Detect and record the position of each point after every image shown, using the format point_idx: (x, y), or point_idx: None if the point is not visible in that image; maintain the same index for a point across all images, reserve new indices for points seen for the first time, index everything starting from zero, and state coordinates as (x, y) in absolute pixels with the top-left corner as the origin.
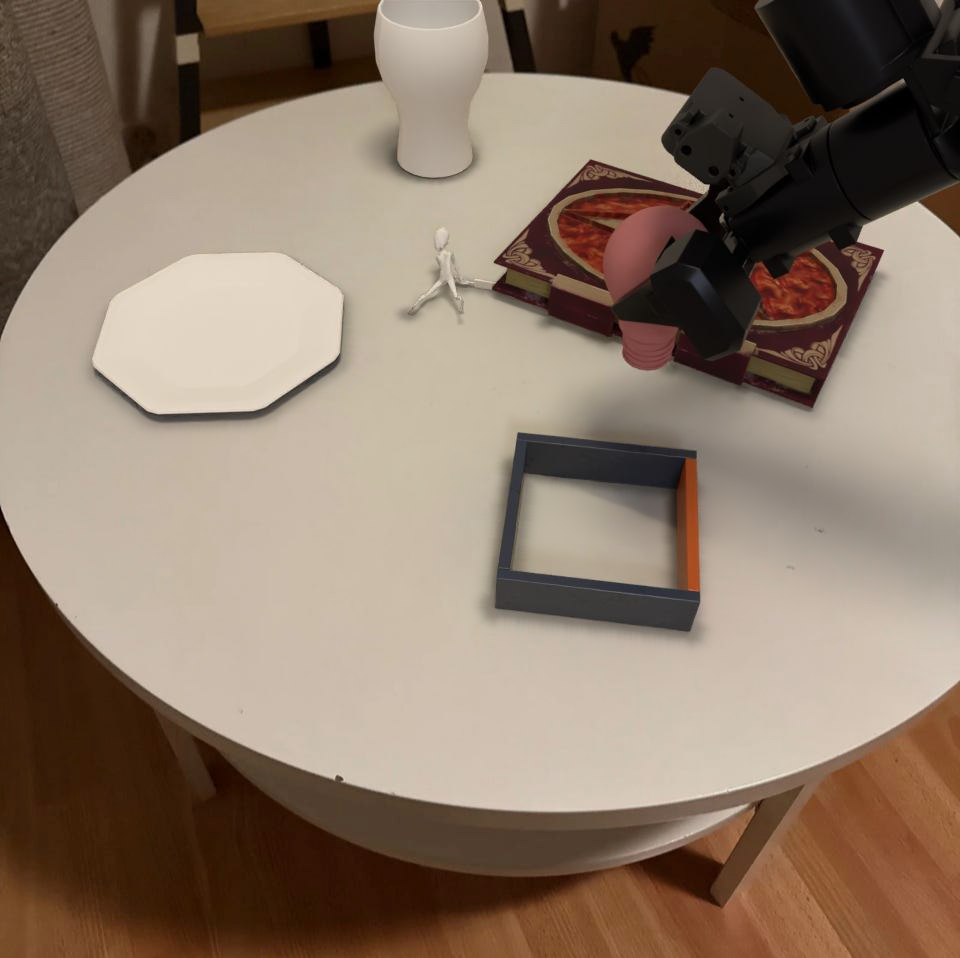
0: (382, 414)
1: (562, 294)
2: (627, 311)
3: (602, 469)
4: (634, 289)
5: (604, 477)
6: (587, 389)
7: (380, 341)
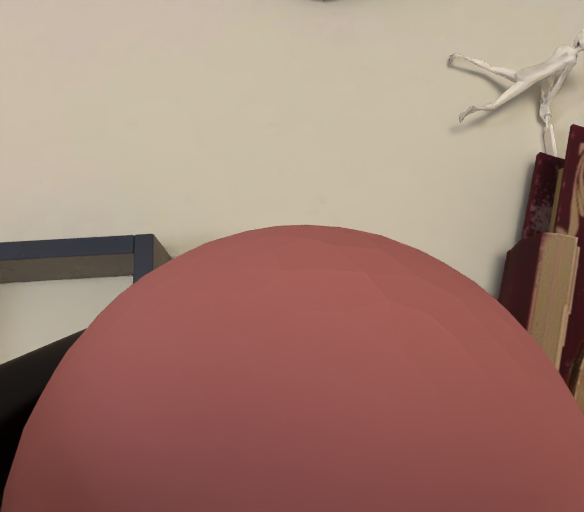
0: (238, 70)
1: (532, 257)
2: None
3: None
4: (7, 386)
5: None
6: None
7: (380, 38)
